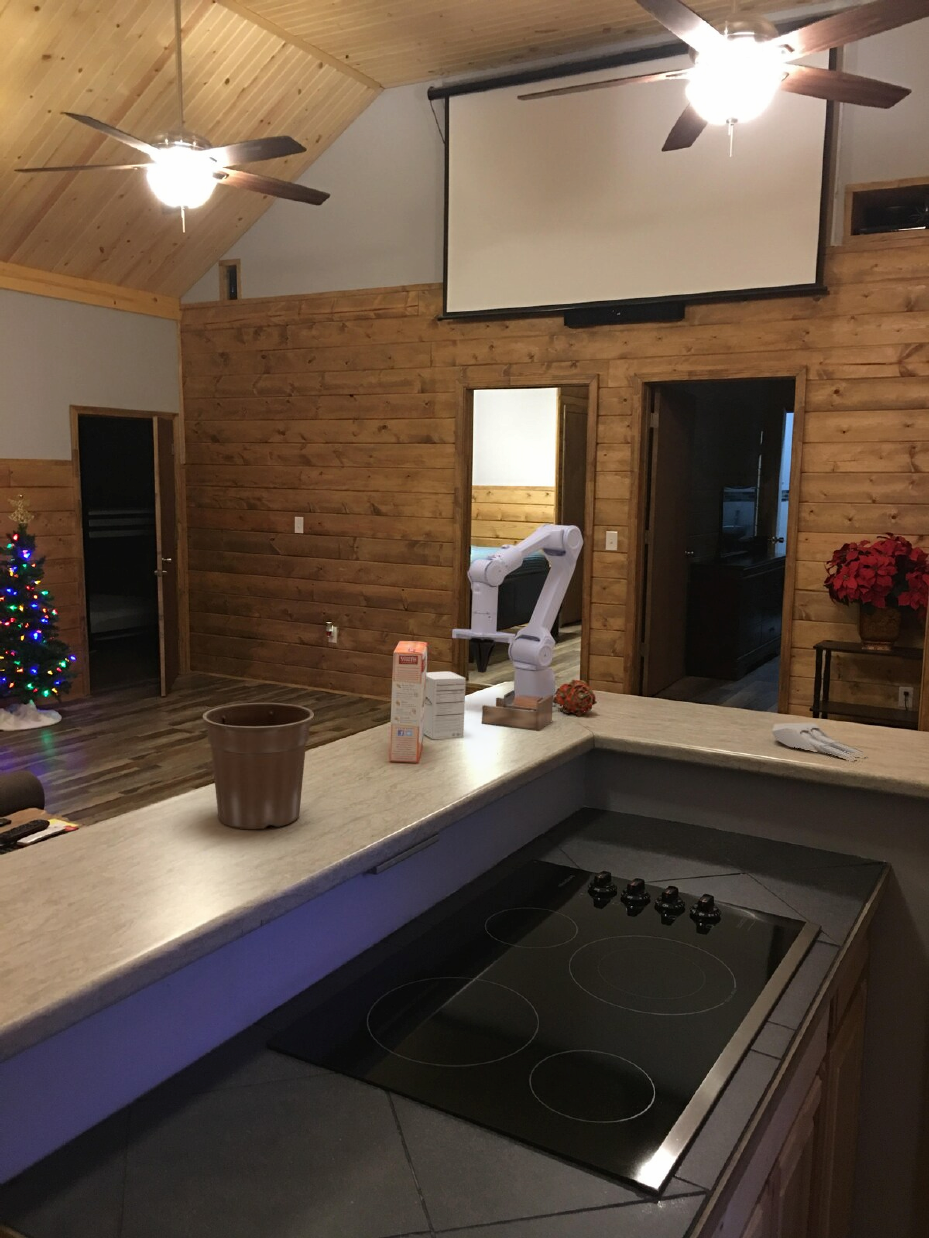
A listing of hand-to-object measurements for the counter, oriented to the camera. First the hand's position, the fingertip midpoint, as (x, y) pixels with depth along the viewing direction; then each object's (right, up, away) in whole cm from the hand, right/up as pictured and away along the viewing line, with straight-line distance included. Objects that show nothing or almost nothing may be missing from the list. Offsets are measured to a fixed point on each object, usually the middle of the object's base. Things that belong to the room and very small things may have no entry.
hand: (482, 671), depth 229 cm
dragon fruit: (+21, -10, +4) cm, 24 cm away
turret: (+69, -15, -21) cm, 73 cm away
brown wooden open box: (+8, -11, -8) cm, 15 cm away
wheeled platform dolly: (+9, -9, -9) cm, 16 cm away
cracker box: (-15, -14, -37) cm, 42 cm away
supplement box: (-9, -12, -21) cm, 26 cm away
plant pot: (-35, -18, -77) cm, 86 cm away
